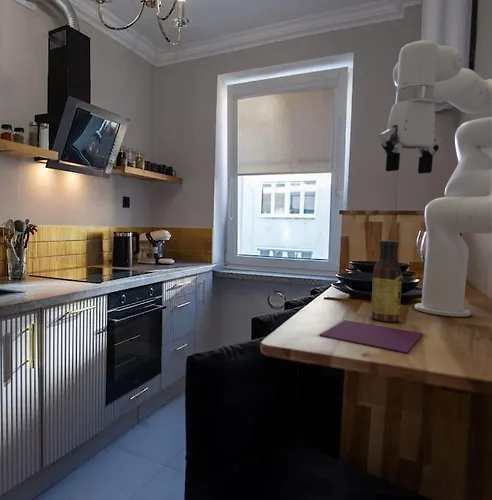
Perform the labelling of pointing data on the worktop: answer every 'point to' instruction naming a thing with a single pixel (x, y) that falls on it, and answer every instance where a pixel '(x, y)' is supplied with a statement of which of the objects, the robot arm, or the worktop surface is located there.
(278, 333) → the worktop surface
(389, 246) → the sauce bottle
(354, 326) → the cloth
